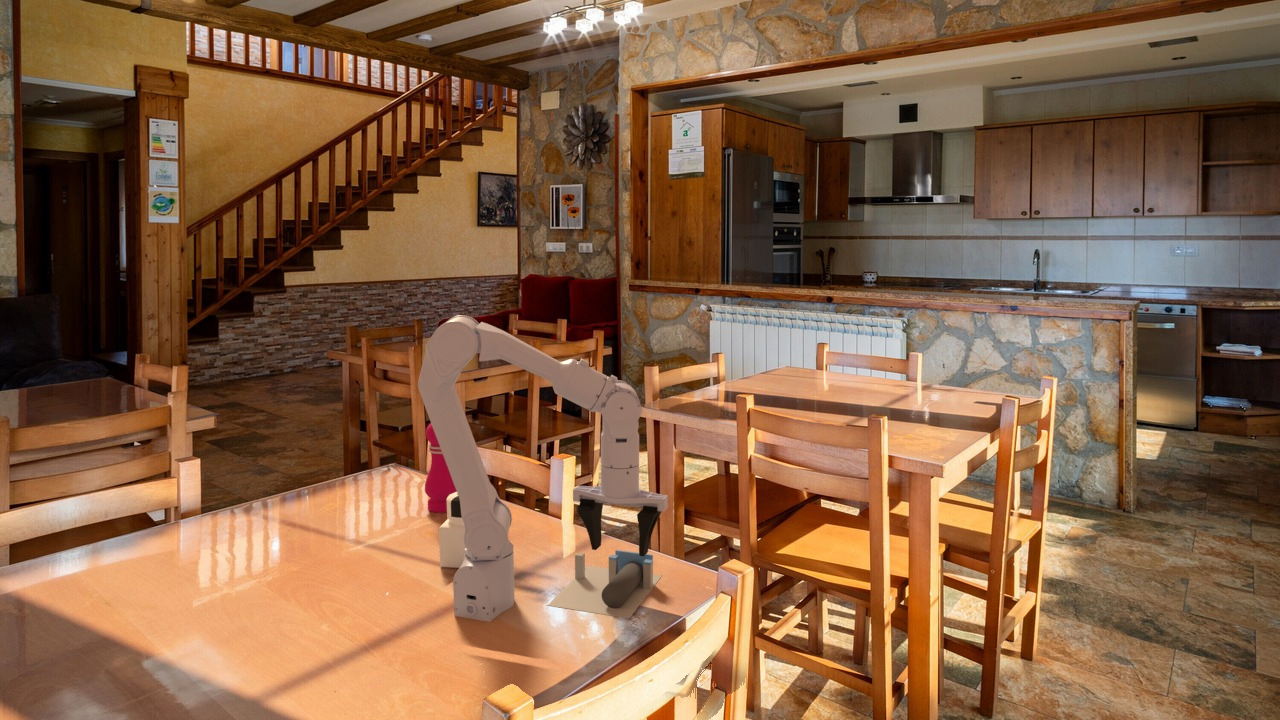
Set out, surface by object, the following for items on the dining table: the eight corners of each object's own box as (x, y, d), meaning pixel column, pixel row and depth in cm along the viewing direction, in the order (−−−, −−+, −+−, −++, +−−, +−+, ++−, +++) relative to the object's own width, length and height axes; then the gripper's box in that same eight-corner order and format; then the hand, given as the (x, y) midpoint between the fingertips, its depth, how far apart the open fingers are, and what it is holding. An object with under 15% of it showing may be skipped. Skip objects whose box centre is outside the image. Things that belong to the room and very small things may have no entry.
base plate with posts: (629, 623, 119) (629, 586, 119) (547, 610, 123) (547, 574, 123) (661, 580, 134) (662, 547, 134) (588, 570, 138) (587, 538, 138)
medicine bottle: (492, 553, 146) (490, 488, 144) (480, 569, 139) (478, 500, 137) (453, 551, 146) (451, 486, 145) (439, 567, 139) (437, 499, 138)
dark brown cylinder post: (623, 611, 122) (625, 588, 121) (600, 605, 123) (602, 582, 122) (643, 585, 131) (645, 564, 130) (622, 580, 132) (624, 559, 131)
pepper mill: (417, 510, 169) (414, 414, 166) (441, 500, 175) (438, 408, 172) (445, 515, 165) (441, 418, 162) (468, 505, 172) (465, 411, 169)
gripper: (674, 461, 124) (673, 547, 126) (585, 453, 129) (585, 536, 131) (660, 473, 118) (659, 564, 120) (567, 464, 122) (567, 551, 124)
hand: (619, 550), depth 125 cm, fingers open, 7 cm apart
